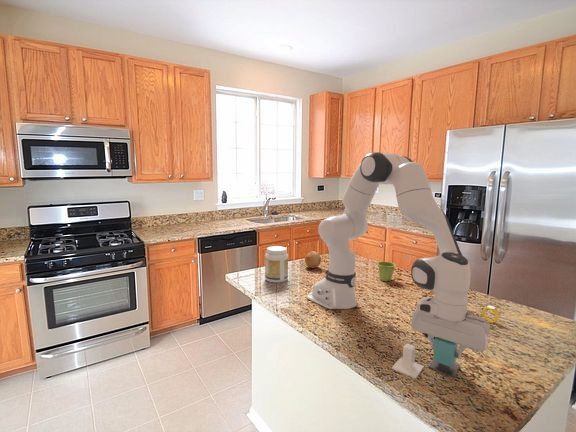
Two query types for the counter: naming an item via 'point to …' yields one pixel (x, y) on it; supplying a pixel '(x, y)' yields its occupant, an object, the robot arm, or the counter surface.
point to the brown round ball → (312, 259)
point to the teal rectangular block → (444, 352)
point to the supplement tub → (276, 264)
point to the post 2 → (444, 368)
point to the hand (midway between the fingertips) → (445, 352)
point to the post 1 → (408, 363)
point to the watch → (493, 311)
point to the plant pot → (386, 270)
